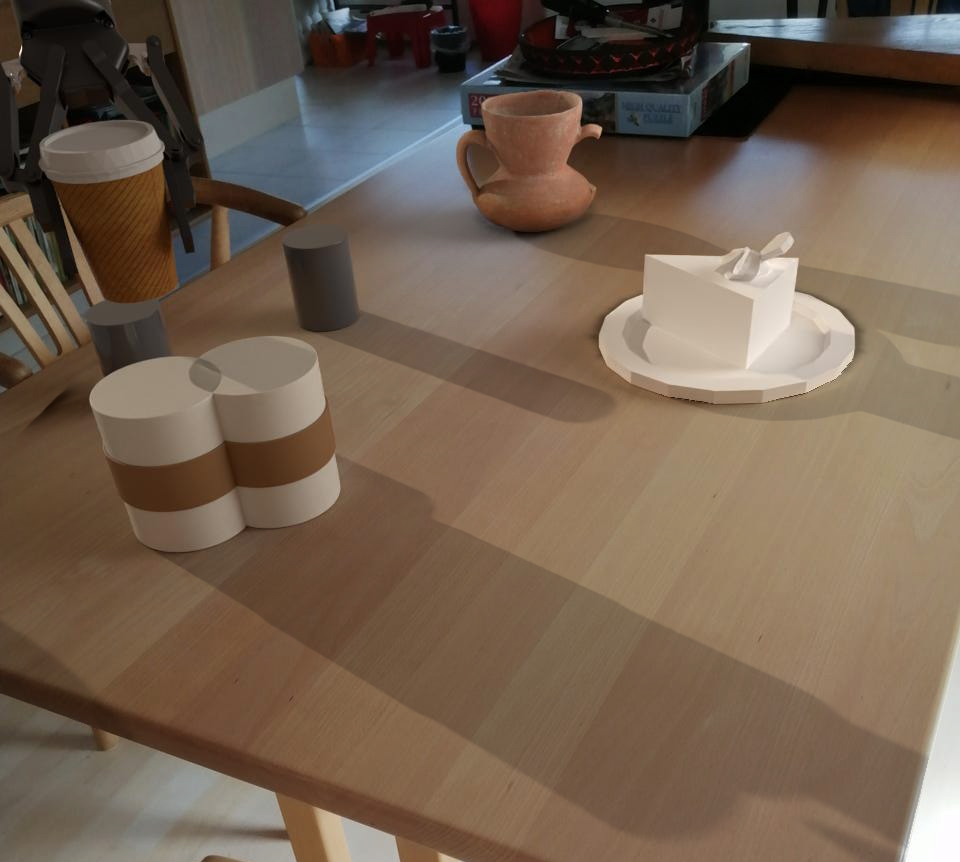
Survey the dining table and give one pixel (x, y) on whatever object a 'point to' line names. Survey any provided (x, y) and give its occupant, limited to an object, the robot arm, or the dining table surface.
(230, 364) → the white banded double cylinder
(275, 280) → the dining table surface
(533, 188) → the ceramic jug
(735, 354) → the white wedge on plate
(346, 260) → the grey tumblers
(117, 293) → the disposable coffee cup
